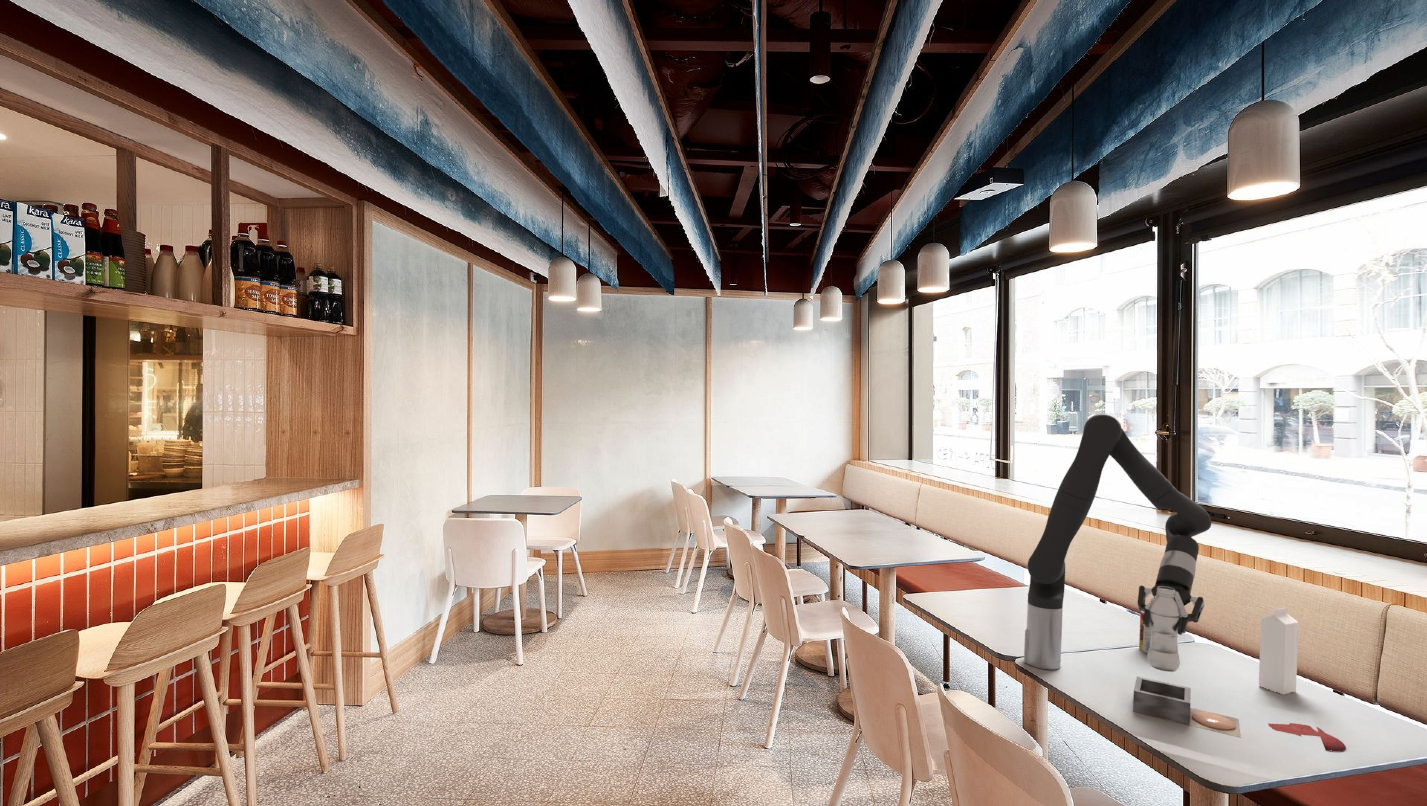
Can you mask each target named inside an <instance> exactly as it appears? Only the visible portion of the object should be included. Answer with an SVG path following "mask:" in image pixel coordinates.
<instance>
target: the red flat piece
mask: <svg viewBox="0 0 1427 806" xmlns="http://www.w3.org/2000/svg"><path fill="white" fill-rule="evenodd" d="M1267 725H1268V727H1270V728H1271V729H1272V730H1274V731H1275V732H1281V733H1286V734H1290V735H1291V734H1292V735H1296V736H1298V737H1302V736H1310V737H1320V740H1321V741H1322V745H1323V748H1324V750H1325V751H1326V750H1332V751H1331V752H1333V751H1341V752H1344V751H1343V750H1345V751H1346V750H1347V747H1346V745H1345V744H1344V742H1343V741H1342V740H1340V739H1339V738H1338V737H1335V736H1333V735H1331V734H1328V733H1326V732H1325V731H1324V730H1322V728H1319V727H1317V726H1316V729H1317V730H1315V729H1314V728H1313V727H1312V726H1310V725H1306V724H1301V723H1292V722H1291V723H1290V722H1289V723H1288V724H1286V723H1267Z"/></svg>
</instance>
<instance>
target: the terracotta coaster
mask: <svg viewBox="0 0 1427 806" xmlns="http://www.w3.org/2000/svg"><path fill="white" fill-rule="evenodd" d="M1211 713H1212V712H1211ZM1211 713H1205V712H1196V713H1193V714H1192V718H1193V719H1194V720H1195V721H1196V722H1198V723H1200V724H1202V725H1205V726H1208V727H1211V728H1215V729H1221V730H1233V729H1235V726H1236V725H1235V723H1234V722H1232V721H1231V720H1229V719H1227V718H1225V717H1222V716H1219V715H1216V714H1217V713H1215V714H1211Z"/></svg>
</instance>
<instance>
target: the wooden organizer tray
mask: <svg viewBox="0 0 1427 806" xmlns="http://www.w3.org/2000/svg"><path fill="white" fill-rule="evenodd" d="M1191 690H1192V688H1191V687H1189V686H1183V685H1180V684H1174V683H1169V682H1165V681H1161V680H1156V679H1151V678H1147V677H1146V678H1145V677H1142V676H1136V678H1135V683H1134V688H1133V701H1132V703H1133V704H1132V705H1133V706H1132V712H1133V713H1134V714H1135V713H1136V714H1139V715H1145V716H1149V717H1152V718H1157V719H1160V720H1161V719H1162V720H1166V721H1168V722H1169V721H1170V722H1174V723H1178V724H1181V725H1182V724H1183V725H1186V726H1189V727H1190V726H1191V727H1194V728H1199V729H1203V730H1207V731H1211V732H1216V733H1220V734H1223V735H1228V736H1231V737H1232V736H1233V737H1236V738H1240V739H1241V738H1242V734H1241V727H1240V721H1239V720H1240V719H1239V718H1236V717H1233V716H1230V715H1229V716H1228V715H1223V714H1219V713H1214V712H1210V711H1206V710H1202V709H1196V708H1193V707H1191V704H1192V703H1191V699H1192V698H1191V694H1192V691H1191ZM1196 712H1205V713H1211V714H1216V715H1219V716H1222V717H1225V718H1227V719H1229V720H1231V721H1232V722H1234V723H1235V725H1236V726H1235V729H1233V730H1221V729H1215V728H1211V727H1208V726H1205V725H1202V724H1200V723H1198V722H1196V721H1195V720H1194V719H1193V718H1192V714H1193V713H1196Z"/></svg>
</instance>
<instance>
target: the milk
mask: <svg viewBox="0 0 1427 806" xmlns="http://www.w3.org/2000/svg"><path fill="white" fill-rule="evenodd" d="M1287 611H1288V609H1287V607H1282V608H1274V609H1273V613H1272V614H1271V615H1267V616H1264V617H1261V619H1260V638H1259V639H1260V641H1259V643H1260V646H1259V666H1258V667H1259V668H1258V670H1259V671H1258V686H1259V685H1260V686H1261V687H1260V688H1262V687H1264V688H1263V689H1265V688H1266V689H1265V690H1268V689H1270V690H1269V691H1272V692H1275V693H1276V692H1278V693H1277V694H1279V693H1280V695H1284V696H1285V695H1288V694H1292V693H1291V692H1293V693H1296V692H1297V676H1298V674H1297V673H1298V647H1299V645H1298V644H1299V626H1300V625H1299V621H1298V620H1297V619H1295V618H1294V617H1292V616H1291V615H1290V614H1288V612H1287Z"/></svg>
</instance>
